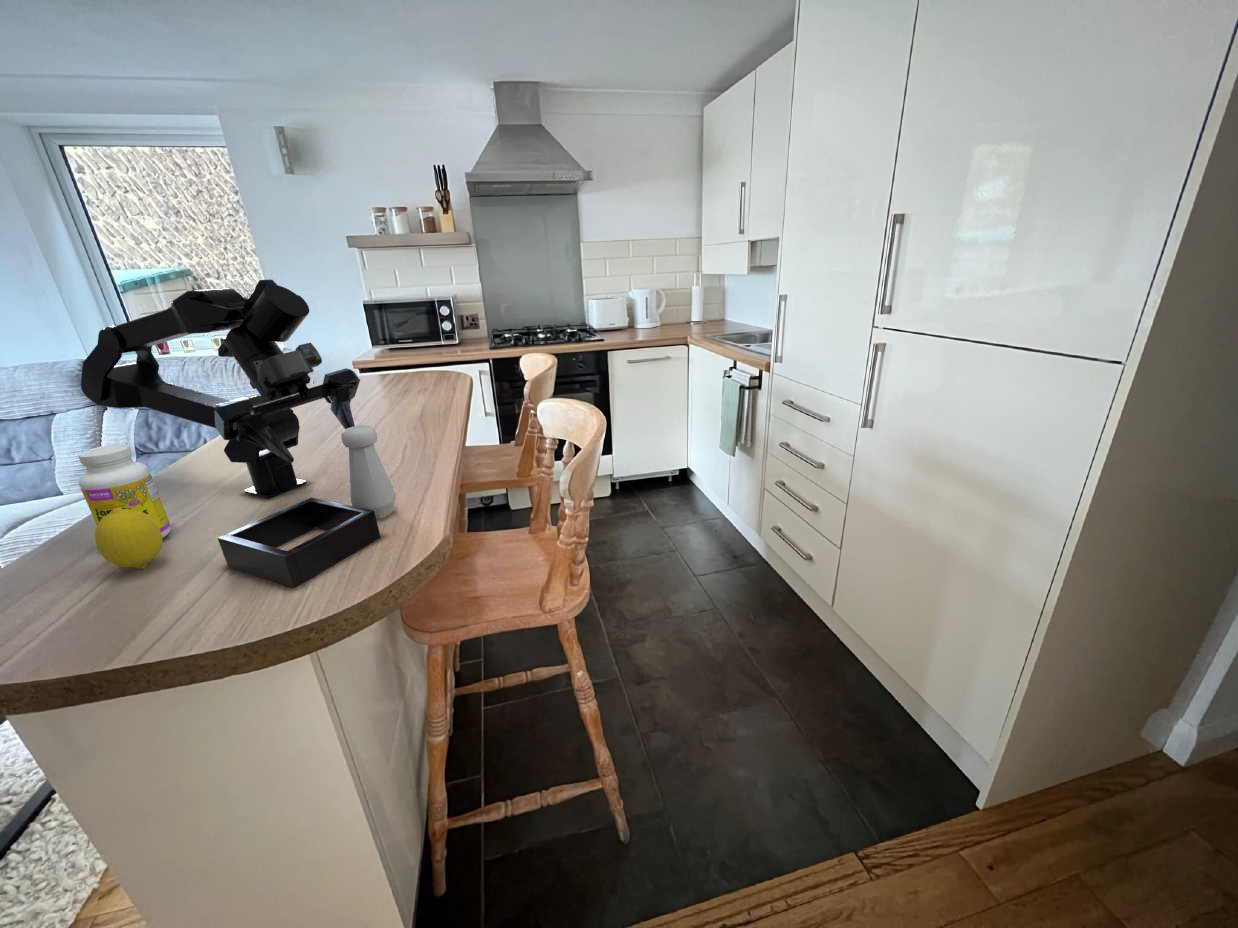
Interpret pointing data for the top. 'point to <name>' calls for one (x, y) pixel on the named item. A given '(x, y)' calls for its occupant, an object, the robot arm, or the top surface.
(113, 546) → the lemon
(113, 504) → the supplement bottle
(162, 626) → the top surface
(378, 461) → the salt shaker
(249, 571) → the black rectangular open frame
